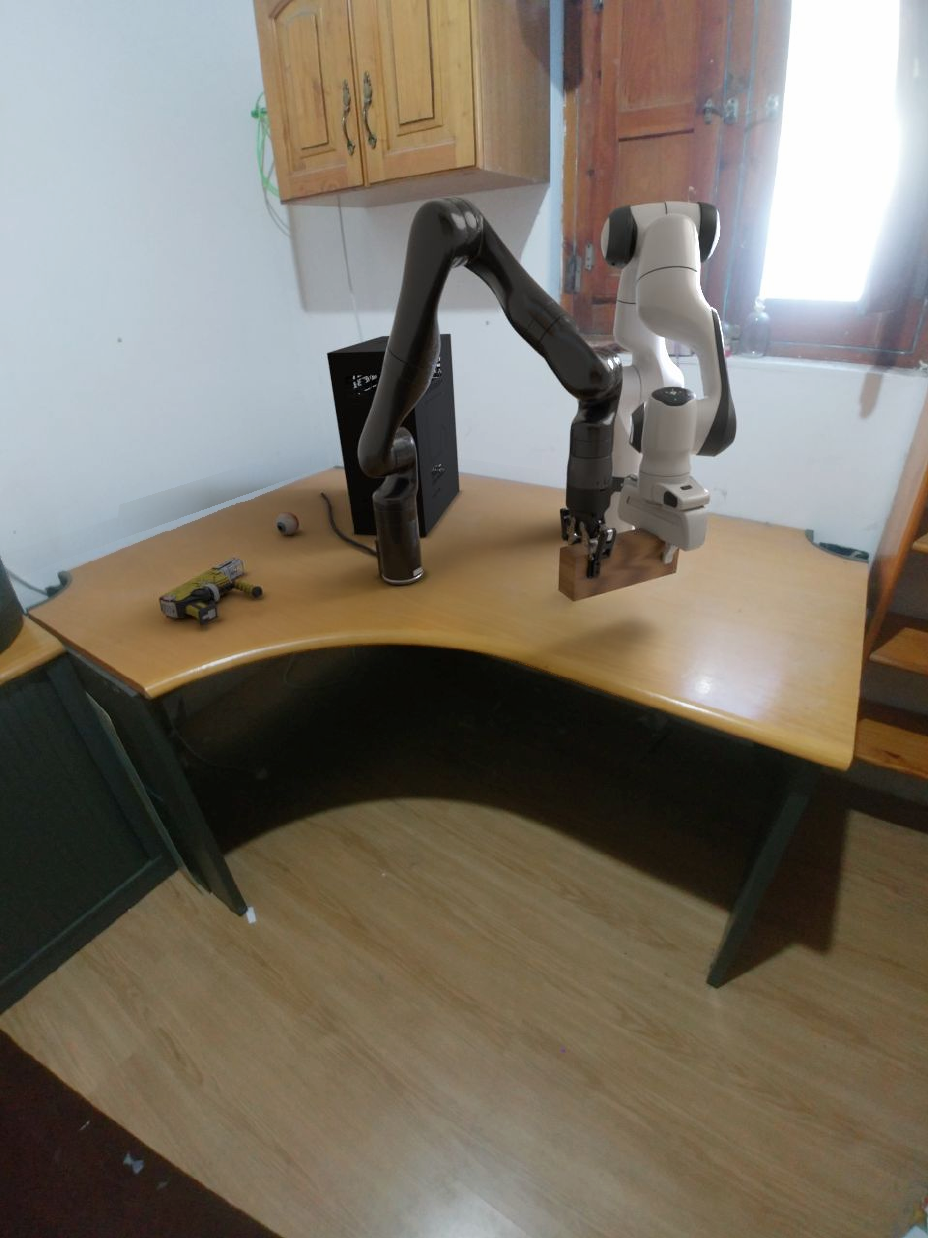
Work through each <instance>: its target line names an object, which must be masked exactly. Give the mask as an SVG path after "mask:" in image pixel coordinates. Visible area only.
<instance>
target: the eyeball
mask: <svg viewBox="0 0 928 1238" xmlns="http://www.w3.org/2000/svg"><path fill="white" fill-rule="evenodd" d="M299 525H300V522H299V519H298V517H297V516H296V515H295V514H294V513H292V512H287V511H286V512H282V513H280V514H279V515H278V516H277V517H276V520H275V527H276V529H277V530H278V531H279V532H280V533H281V534H282V535H285V536H286V535H287V536H289V535H293V534H295V533H296V532H297V531H298V529H299Z"/></svg>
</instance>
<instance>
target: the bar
mask: <svg viewBox="0 0 928 1238" xmlns="http://www.w3.org/2000/svg"><path fill="white" fill-rule="evenodd" d="M596 540H597V538H594V539H590V542H592V541H596ZM596 548H597V546H594V547H593V550H594V553H595V552H596ZM666 549H667V547H665V541H663V540H661V539H659V537H658V536H656V535H654V534H652V533H650V532H648V531H646V530H644V529H642V528H638V529H634V530H630V531H626V532H622V533H616V537H615V541H614V545H613V549H612V552H611V556H610V558H608V559H603V560H601V569H600V575H599V577H597V578H593V579H589V578H588V577H587V568H588V559H589V557H588V551H587V548H586V547H585V546H584V542H581V543H577V544H572V545H566V546H565V545H564V546H561V547H559V554H558V555H559V556H558V558H559V559H558V560H559V561H558V581H557V582H558V583H557V585H558V586H557V591H558V592H560V593H561V594H562V595H563V596H565V597H566V598H567V599H569V600H571V602H577V601H582V600H584V599H588V598H591V597H596V596H599V595H603V594H606V593H610V592H613V591H617V590H620V589H624V588H627V587H631V586H634V585H638V584H642V583H646V582H648V581H652V580H655V579H659V578H662V577H666V576H669V575H673V574H676V573H677V568H678V561H679V555H680V549H679V548H678V549H677V550H676V551H675V552H674V553H673V558H672V561H671V562H670V563H667V564H666V563H664V562H662V561H660V553H661V552H665V550H666ZM603 551H604V552H605V550H603Z"/></svg>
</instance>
